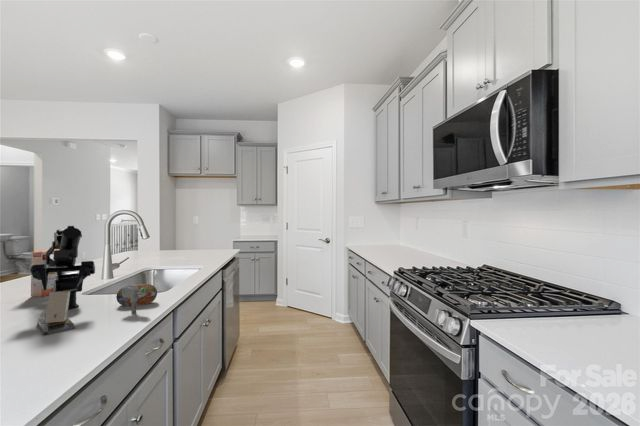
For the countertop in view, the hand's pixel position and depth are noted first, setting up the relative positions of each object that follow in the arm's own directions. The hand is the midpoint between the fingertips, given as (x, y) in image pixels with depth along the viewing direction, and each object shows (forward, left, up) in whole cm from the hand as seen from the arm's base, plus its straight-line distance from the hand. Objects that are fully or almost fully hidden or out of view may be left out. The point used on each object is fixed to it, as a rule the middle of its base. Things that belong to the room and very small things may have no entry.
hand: (60, 288), depth 114 cm
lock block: (+7, -2, -10) cm, 12 cm away
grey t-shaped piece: (+12, +20, -12) cm, 26 cm away
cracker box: (-48, +3, -12) cm, 50 cm away
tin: (+1, +25, -12) cm, 28 cm away
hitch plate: (+8, -3, -11) cm, 14 cm away
